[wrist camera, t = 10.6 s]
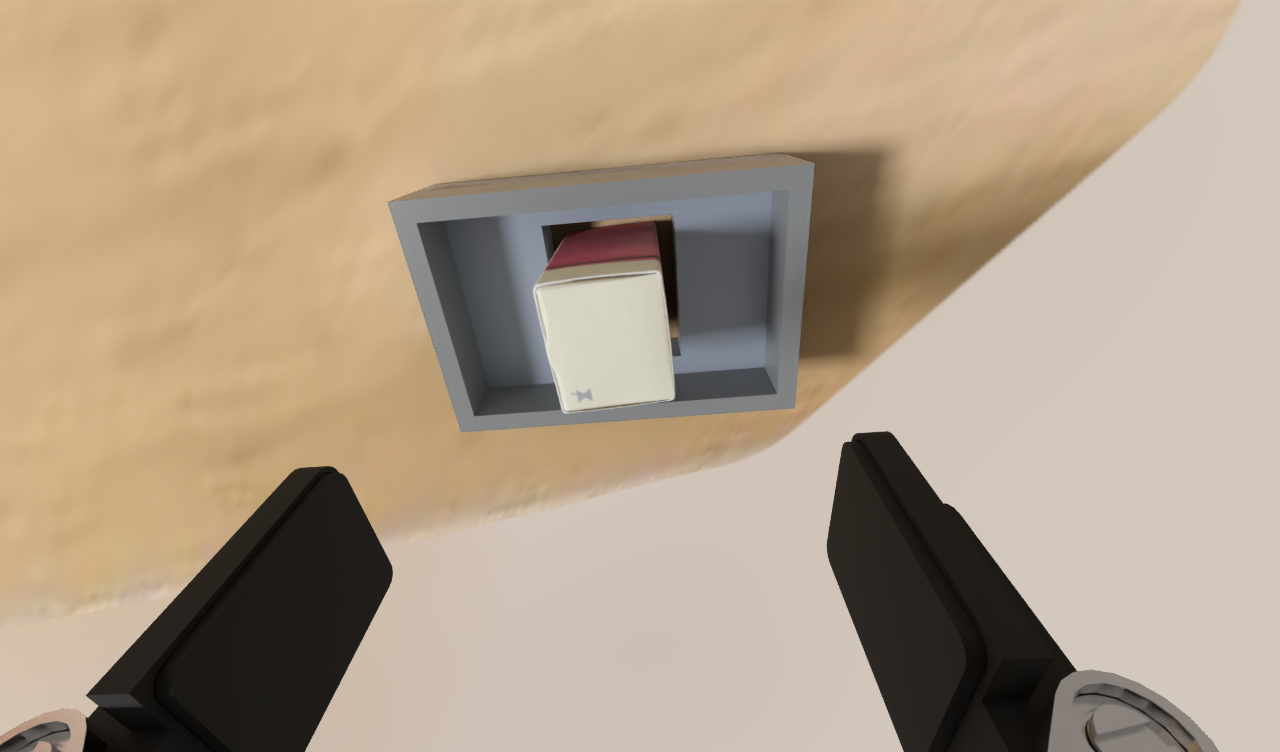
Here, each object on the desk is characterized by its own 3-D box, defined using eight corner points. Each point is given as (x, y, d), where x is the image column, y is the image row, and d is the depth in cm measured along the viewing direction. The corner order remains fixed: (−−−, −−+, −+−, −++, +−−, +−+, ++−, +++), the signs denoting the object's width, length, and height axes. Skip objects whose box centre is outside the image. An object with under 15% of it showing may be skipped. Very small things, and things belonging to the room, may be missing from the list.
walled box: (781, 152, 21) (814, 163, 17) (770, 361, 25) (794, 408, 22) (434, 184, 21) (387, 202, 17) (488, 382, 26) (461, 432, 22)
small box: (667, 320, 24) (679, 405, 17) (583, 331, 25) (561, 418, 18) (656, 217, 22) (664, 267, 15) (562, 230, 22) (528, 285, 15)
